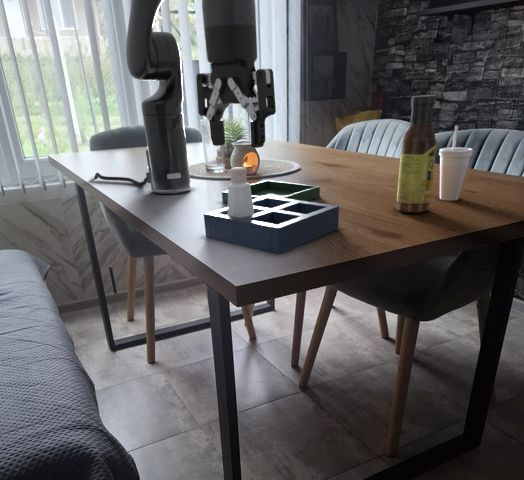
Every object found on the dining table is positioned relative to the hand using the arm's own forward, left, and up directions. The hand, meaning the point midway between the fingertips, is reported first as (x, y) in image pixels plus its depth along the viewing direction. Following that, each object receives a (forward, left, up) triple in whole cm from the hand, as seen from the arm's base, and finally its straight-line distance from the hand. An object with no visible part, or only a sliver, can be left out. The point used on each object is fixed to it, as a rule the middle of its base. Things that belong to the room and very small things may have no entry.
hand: (237, 146), depth 77 cm
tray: (-13, +24, -14) cm, 31 cm away
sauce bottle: (+17, +31, -15) cm, 38 cm away
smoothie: (+19, +44, -15) cm, 50 cm away
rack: (+4, +4, -14) cm, 15 cm away
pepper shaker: (0, 0, -15) cm, 15 cm away
